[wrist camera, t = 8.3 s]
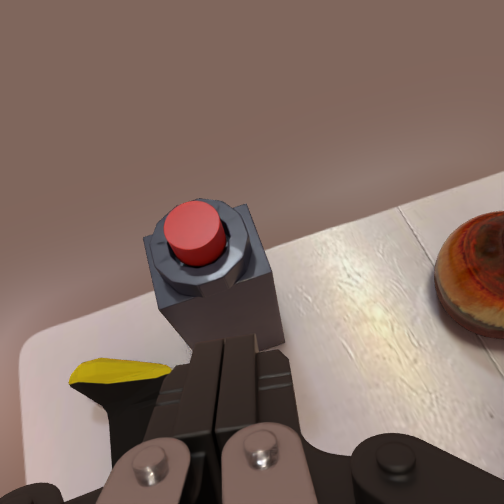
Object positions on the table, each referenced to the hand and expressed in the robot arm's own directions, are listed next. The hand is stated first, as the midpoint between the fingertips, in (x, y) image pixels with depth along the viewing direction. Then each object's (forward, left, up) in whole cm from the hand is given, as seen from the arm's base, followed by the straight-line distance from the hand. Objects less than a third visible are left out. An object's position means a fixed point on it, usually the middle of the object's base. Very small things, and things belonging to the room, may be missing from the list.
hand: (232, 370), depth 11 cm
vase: (-23, -8, -32) cm, 40 cm away
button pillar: (+1, -13, -32) cm, 35 cm away
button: (+1, -13, -14) cm, 19 cm away
